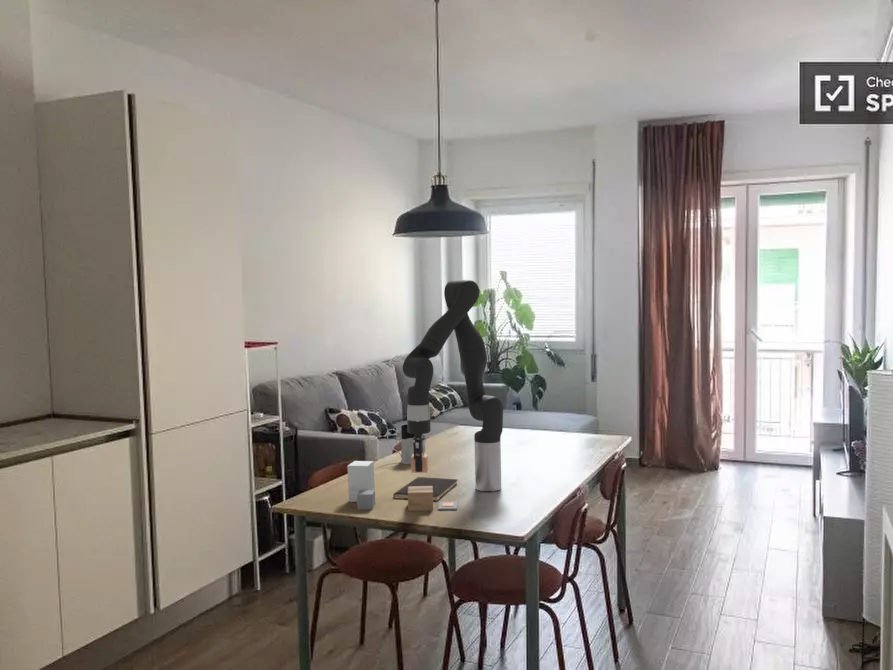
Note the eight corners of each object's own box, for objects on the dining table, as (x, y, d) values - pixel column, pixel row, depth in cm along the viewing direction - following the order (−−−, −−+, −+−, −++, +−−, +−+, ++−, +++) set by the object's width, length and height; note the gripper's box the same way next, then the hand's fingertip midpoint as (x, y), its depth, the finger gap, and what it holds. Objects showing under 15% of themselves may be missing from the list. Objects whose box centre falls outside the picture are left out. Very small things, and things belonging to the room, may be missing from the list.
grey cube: (360, 505, 253) (359, 490, 252) (375, 505, 252) (374, 490, 252) (357, 509, 248) (357, 494, 247) (372, 509, 247) (372, 494, 247)
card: (439, 503, 252) (439, 500, 252) (457, 503, 252) (457, 500, 252) (438, 510, 245) (438, 507, 244) (456, 510, 244) (456, 507, 244)
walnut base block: (409, 504, 253) (408, 486, 252) (433, 503, 253) (432, 485, 253) (408, 511, 245) (407, 492, 244) (433, 510, 245) (432, 492, 245)
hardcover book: (457, 485, 277) (457, 479, 277) (437, 502, 255) (437, 495, 255) (416, 482, 282) (416, 476, 282) (393, 499, 260) (393, 492, 260)
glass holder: (420, 463, 311) (420, 427, 310) (386, 464, 311) (385, 428, 310) (422, 459, 319) (421, 423, 318) (388, 459, 320) (387, 424, 319)
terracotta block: (412, 469, 251) (412, 454, 251) (428, 469, 250) (427, 454, 250) (411, 472, 246) (411, 457, 246) (426, 472, 246) (426, 457, 245)
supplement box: (375, 497, 262) (374, 460, 261) (368, 503, 255) (367, 465, 254) (355, 496, 264) (354, 460, 263) (348, 502, 256) (346, 465, 256)
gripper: (409, 414, 255) (410, 464, 255) (404, 421, 240) (405, 474, 241) (432, 414, 254) (432, 464, 255) (428, 421, 240) (429, 474, 241)
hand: (419, 469), depth 248 cm, fingers closed on terracotta block, 5 cm apart
